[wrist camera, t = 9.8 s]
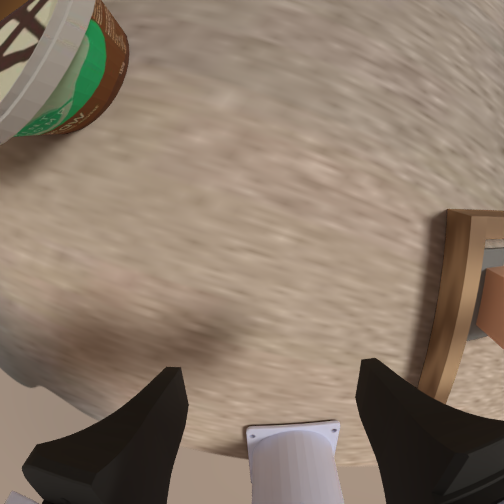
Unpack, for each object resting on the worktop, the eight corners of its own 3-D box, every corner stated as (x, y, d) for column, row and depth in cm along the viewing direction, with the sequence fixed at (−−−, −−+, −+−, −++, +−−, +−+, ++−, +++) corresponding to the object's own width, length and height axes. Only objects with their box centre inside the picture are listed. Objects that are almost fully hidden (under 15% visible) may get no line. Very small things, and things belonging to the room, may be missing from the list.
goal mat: (515, 326, 22) (517, 328, 21) (456, 341, 22) (458, 342, 21) (532, 245, 19) (534, 246, 19) (473, 249, 20) (476, 250, 19)
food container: (32, 181, 19) (-69, 199, 9) (14, 113, 17) (-81, 105, 8) (174, 96, 18) (102, 42, 8) (145, 25, 16) (77, -51, 6)
